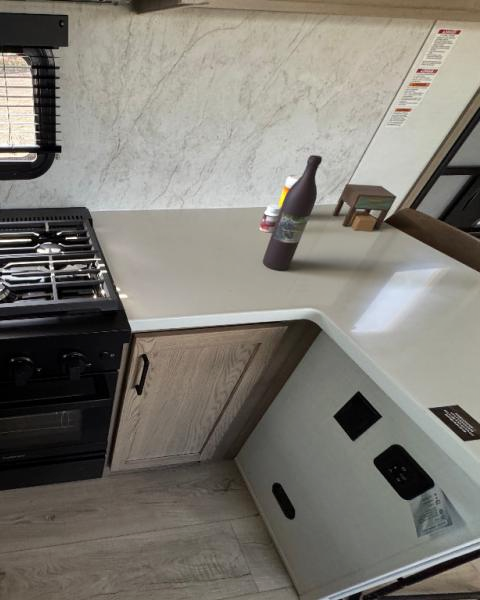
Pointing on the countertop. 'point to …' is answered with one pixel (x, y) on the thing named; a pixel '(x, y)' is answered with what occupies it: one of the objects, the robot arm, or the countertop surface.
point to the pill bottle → (270, 218)
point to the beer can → (288, 186)
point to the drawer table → (365, 201)
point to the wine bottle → (293, 218)
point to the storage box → (362, 221)
